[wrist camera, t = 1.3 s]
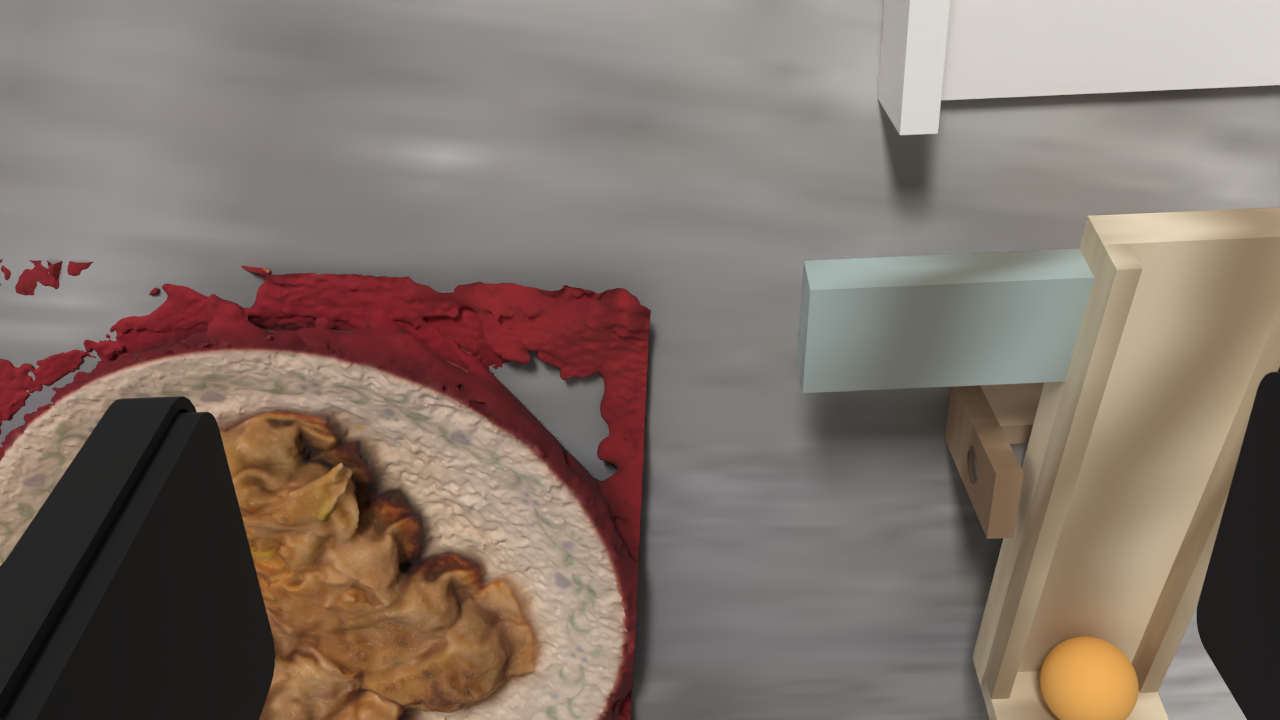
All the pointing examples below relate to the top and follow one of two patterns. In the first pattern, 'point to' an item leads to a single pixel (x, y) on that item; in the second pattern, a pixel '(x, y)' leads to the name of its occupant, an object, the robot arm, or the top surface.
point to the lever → (1080, 413)
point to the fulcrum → (992, 448)
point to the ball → (1088, 680)
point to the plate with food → (390, 483)
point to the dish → (1067, 50)
